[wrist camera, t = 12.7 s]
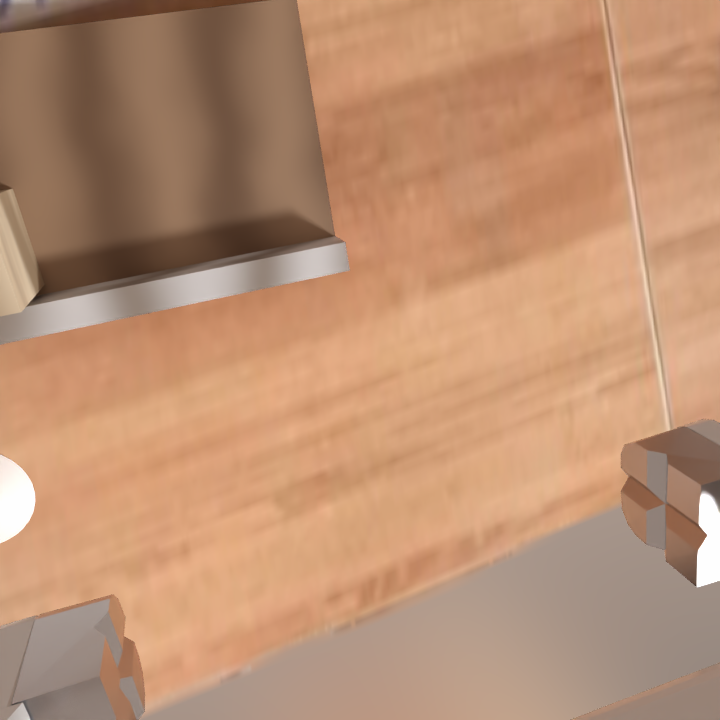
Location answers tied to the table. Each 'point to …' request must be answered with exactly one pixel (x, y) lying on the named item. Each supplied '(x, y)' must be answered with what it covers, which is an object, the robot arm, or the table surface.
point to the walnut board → (163, 162)
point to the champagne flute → (14, 499)
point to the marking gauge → (16, 259)
